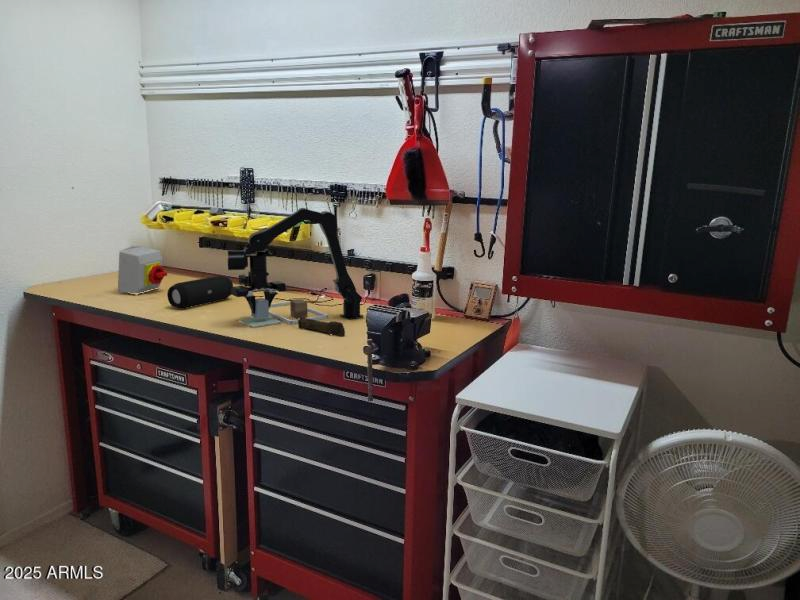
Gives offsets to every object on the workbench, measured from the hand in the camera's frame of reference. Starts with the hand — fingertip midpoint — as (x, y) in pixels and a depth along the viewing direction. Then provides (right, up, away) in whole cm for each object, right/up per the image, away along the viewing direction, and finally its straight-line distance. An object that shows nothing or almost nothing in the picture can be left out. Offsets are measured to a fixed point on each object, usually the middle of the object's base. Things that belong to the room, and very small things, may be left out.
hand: (260, 312), depth 208 cm
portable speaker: (-29, +3, +27) cm, 40 cm away
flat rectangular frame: (+8, -1, +14) cm, 16 cm away
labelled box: (0, -1, 0) cm, 1 cm away
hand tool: (+24, -7, -9) cm, 26 cm away
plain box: (+12, -2, +9) cm, 15 cm away
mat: (0, -3, +1) cm, 4 cm away
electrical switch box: (-60, +8, +45) cm, 75 cm away
